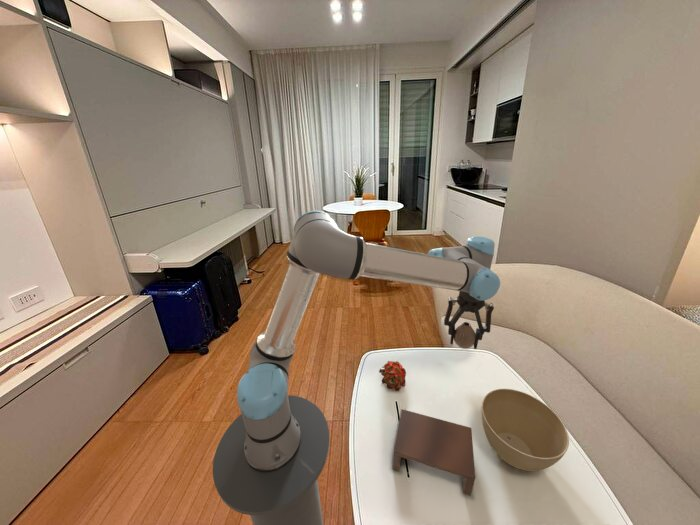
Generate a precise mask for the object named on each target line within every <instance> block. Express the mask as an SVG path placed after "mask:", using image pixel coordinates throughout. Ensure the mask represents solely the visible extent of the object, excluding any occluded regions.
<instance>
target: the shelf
mask: <svg viewBox="0 0 700 525" xmlns="http://www.w3.org/2000/svg"><path fill="white" fill-rule="evenodd" d="M398 421H399V422H398V426H397V431H396V436H395V441H394V447H393V453H392V454H393V457H392V470H394V471H396V472H400V469H401V462H402V458H403V459H405V460H409V461H412V462H415V463H418V464H421V465H424V466H427V467H430V468H432V469H437V470H440V471H442V472H446V473H449V474H452V475H455V476H458V477H461V478H462V493H463V495H466V496H469V497H471V496H472V493H473V489H474V485H475V480H476V470H475V457H474V444H473V431H472V427H469V426H466V425H463V424H458V423H455V422H451V421H447V420H443V419H440V418H436V417H433V416H428V415H426V414H422V413H418V412H415V411H410V410H407V409H403V408H401V410H400V415H399V420H398Z"/></svg>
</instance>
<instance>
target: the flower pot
mask: <svg viewBox="0 0 700 525" xmlns="http://www.w3.org/2000/svg"><path fill="white" fill-rule="evenodd" d="M481 423H482V427H483V432H484V434H485V437H486V440H487V441H488V443H489V445H490V447H491V448H492V449H493V451H494V452H495V454H496V455H497V456H498V457H499V458H500V459H502V460H503V461H504V462H505V463H506V464H508V465H510V466H512V467H513V468H515V469H518V470H521V471H528V472H537V471H542V470H545V469H549V468H551V467H552V466H554V465H555V464H557V463H558V462H559V461H560V460H561V459H562V458H563V457H564V456H565V454H566V453H567V451H568V449H569V447H570V436H569V432H568V430H567V428H566V426H565V424H564V422H563V421H562V419H561V418H560V417H559V416H558V414H557V413H556V412H555V411H554V410H552V408H550V406H548V405H547V404H546V403H544V402H543V401H541V400H540V399H539V398H536V397H535V396H533V395H531V394H529V393H527V392H524V391H521V390H517V389H511V388H497V389H494V390H491V391H490V392H488V393H486V394H485V396H484V397H483V400H482V403H481Z"/></svg>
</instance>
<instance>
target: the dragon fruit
mask: <svg viewBox="0 0 700 525" xmlns="http://www.w3.org/2000/svg"><path fill="white" fill-rule="evenodd" d="M386 362H387V363H386ZM386 362H385V364H384V365H383V366H382V367H381V368H379V370H378V372H379V373H380V374H381V376H382V379H381V384H383V385H384V384H385V385H386V388H387V389H388V390H393V389H394V391H395V392H400V391H401V389H402V388H405V387H406V383H407V382H406V381H407V380H406V376H407V371H406V369H405V367H403V364H401V363H400V362H399V361H398V360H396V361H393V360H391V361H390V360H387V361H386Z"/></svg>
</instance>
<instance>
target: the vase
mask: <svg viewBox="0 0 700 525" xmlns="http://www.w3.org/2000/svg"><path fill="white" fill-rule="evenodd" d="M475 333H476V331H475V330H474V328H473V327H472V324H471V323H470V322H467V321H464V322H462V323H461V324H460V325H458V326H457V327H455V333H454V340H453V342H454V343H455V345H456V346H457V347H458V348H461V349H464V350H467V349H470V348H472V347H474V343H475V339H476V335H475Z"/></svg>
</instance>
